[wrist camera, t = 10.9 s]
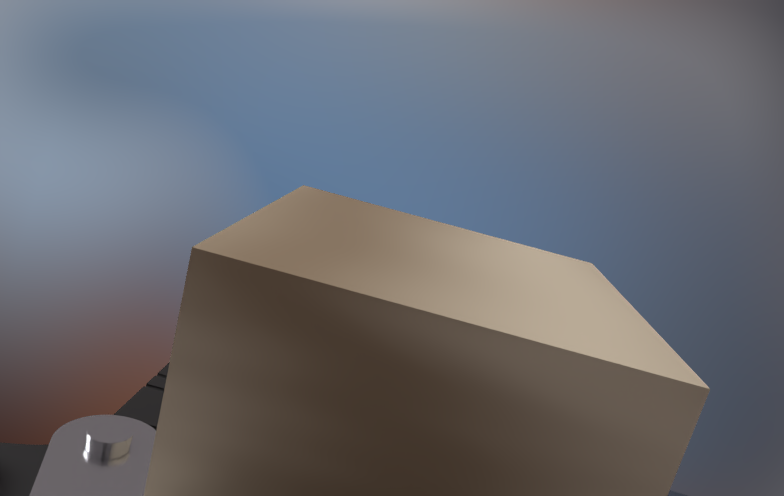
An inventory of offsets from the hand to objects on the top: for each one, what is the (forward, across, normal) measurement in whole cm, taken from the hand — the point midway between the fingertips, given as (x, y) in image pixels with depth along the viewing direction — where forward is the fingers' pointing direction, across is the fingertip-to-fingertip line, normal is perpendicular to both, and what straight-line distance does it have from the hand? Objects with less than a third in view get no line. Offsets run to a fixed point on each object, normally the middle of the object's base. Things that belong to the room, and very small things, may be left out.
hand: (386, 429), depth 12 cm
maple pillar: (-3, 0, +6) cm, 7 cm away
